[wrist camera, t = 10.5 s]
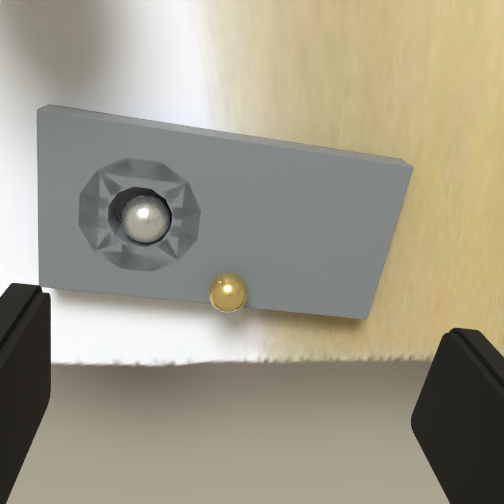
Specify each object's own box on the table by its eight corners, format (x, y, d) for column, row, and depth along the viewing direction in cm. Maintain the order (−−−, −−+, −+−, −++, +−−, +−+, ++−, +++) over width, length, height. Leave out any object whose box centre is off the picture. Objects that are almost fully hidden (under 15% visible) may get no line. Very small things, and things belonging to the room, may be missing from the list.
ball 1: (166, 208, 33) (116, 197, 33) (160, 254, 34) (112, 244, 34) (177, 195, 36) (132, 185, 36) (171, 237, 38) (127, 228, 38)
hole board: (401, 159, 37) (413, 167, 35) (358, 304, 42) (366, 319, 40) (48, 104, 33) (36, 109, 31) (48, 271, 38) (39, 286, 36)
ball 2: (249, 268, 37) (252, 286, 34) (243, 301, 38) (246, 322, 35) (210, 263, 36) (211, 282, 34) (205, 297, 38) (205, 318, 35)
